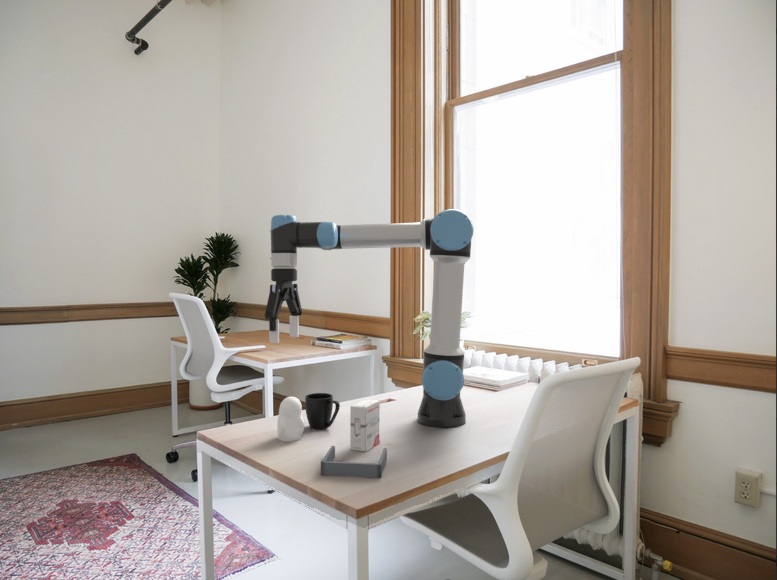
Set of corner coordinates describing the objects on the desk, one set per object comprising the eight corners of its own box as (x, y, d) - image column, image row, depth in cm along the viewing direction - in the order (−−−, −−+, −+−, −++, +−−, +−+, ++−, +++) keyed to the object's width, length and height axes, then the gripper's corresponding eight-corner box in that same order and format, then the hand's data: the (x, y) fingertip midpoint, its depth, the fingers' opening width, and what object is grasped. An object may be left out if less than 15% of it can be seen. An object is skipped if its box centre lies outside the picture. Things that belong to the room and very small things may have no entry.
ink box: (364, 440, 153) (364, 398, 152) (380, 443, 151) (380, 400, 150) (349, 449, 145) (349, 405, 145) (365, 452, 143) (366, 407, 142)
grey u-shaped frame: (386, 459, 137) (386, 448, 137) (380, 477, 125) (380, 464, 125) (331, 457, 139) (331, 445, 139) (320, 475, 127) (320, 462, 127)
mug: (327, 435, 157) (327, 402, 157) (299, 427, 165) (299, 396, 165) (347, 429, 164) (347, 397, 163) (319, 421, 171) (319, 391, 171)
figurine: (281, 444, 149) (281, 400, 149) (273, 436, 156) (273, 394, 156) (306, 440, 153) (306, 397, 152) (297, 433, 159) (297, 392, 159)
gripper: (290, 268, 175) (290, 334, 176) (251, 267, 151) (252, 344, 152) (312, 268, 174) (312, 335, 174) (276, 267, 149) (277, 345, 150)
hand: (284, 339), depth 163 cm, fingers open, 13 cm apart
